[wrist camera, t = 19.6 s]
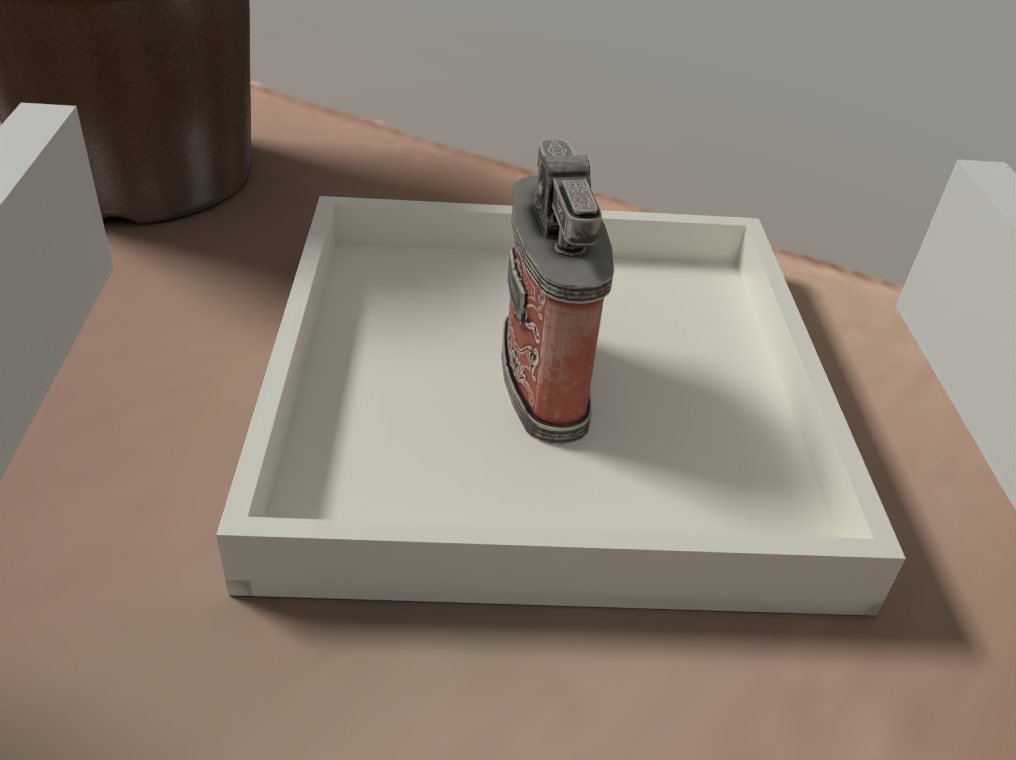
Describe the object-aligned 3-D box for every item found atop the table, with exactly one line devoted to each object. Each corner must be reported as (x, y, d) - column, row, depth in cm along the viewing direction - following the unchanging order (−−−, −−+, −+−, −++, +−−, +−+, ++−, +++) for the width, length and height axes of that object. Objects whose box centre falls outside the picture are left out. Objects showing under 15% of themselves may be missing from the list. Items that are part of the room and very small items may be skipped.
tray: (228, 595, 31) (216, 534, 29) (323, 248, 48) (319, 195, 46) (876, 615, 32) (905, 558, 30) (745, 268, 49) (758, 218, 47)
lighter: (490, 325, 42) (504, 116, 36) (563, 322, 43) (589, 115, 37) (519, 447, 36) (541, 221, 30) (604, 442, 37) (643, 219, 31)
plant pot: (349, 162, 56) (334, -142, 46) (140, 285, 45) (58, -81, 34) (150, 94, 62) (97, -190, 51) (-79, 188, 50) (-204, -151, 40)
